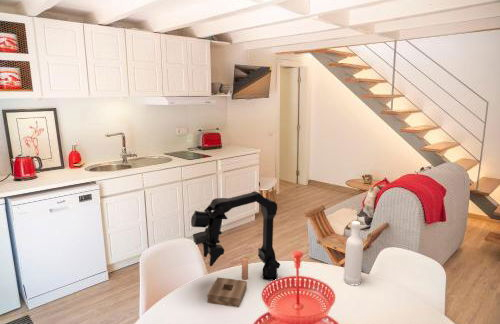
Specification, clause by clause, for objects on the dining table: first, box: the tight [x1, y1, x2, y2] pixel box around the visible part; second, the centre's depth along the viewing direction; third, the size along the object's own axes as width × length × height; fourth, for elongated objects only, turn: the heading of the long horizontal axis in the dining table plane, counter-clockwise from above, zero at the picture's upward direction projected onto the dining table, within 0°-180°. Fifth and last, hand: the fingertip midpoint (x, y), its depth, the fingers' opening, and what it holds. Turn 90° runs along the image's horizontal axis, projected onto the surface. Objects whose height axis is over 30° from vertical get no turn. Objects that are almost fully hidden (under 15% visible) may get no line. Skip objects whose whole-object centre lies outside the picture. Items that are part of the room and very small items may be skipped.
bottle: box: [343, 220, 364, 286], centre depth 157 cm, size 8×8×30 cm
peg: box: [241, 257, 249, 281], centre depth 161 cm, size 3×3×10 cm
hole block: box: [206, 276, 248, 308], centre depth 147 cm, size 14×14×4 cm
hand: (207, 261), depth 147 cm, fingers open, 9 cm apart
